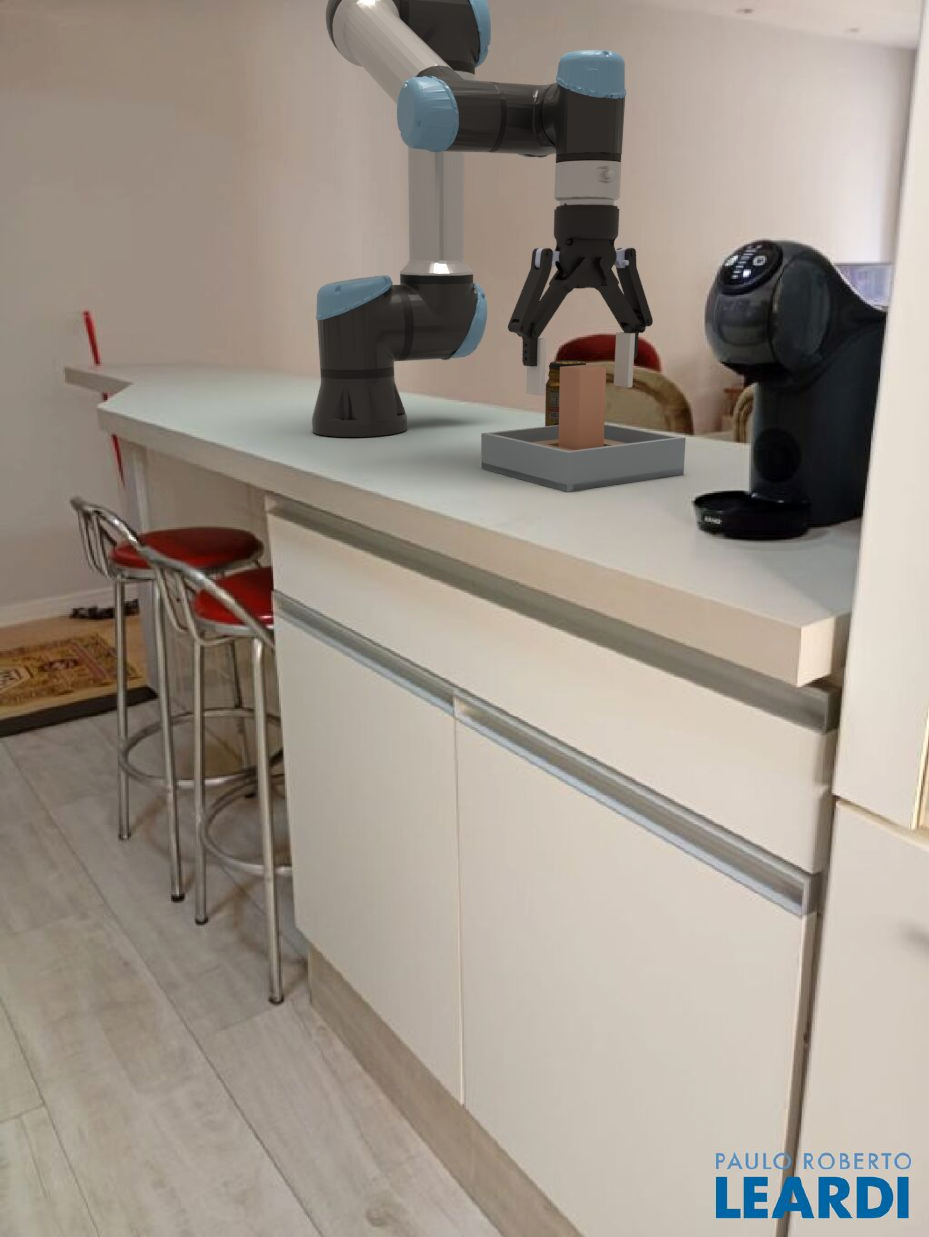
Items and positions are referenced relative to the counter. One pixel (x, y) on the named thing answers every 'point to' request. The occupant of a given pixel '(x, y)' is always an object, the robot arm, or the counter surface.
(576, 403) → the peg
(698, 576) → the counter surface
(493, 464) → the tray box
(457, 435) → the counter surface
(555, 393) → the condiment
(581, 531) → the counter surface
